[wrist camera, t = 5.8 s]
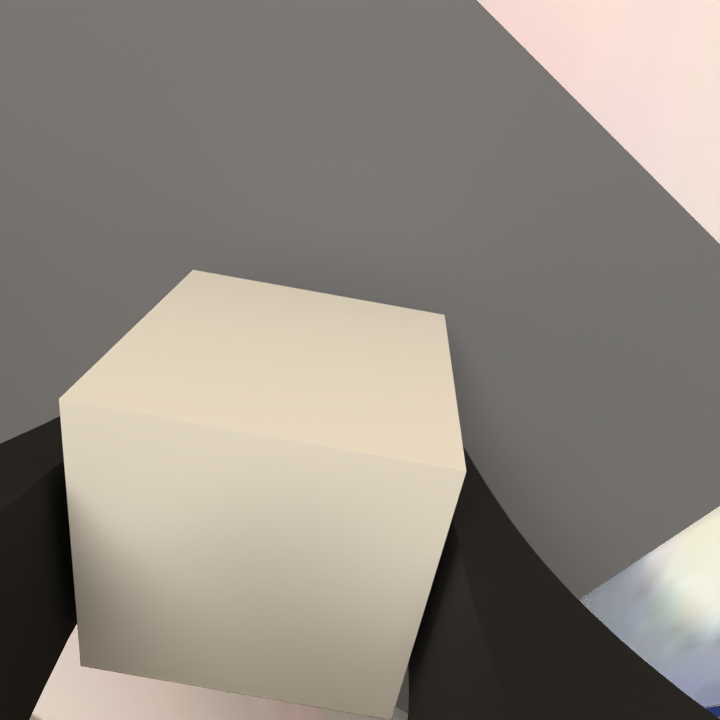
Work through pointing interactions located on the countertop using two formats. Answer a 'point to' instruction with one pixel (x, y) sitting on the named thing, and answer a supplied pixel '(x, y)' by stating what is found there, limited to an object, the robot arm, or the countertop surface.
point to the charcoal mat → (371, 233)
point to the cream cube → (263, 492)
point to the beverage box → (714, 710)
